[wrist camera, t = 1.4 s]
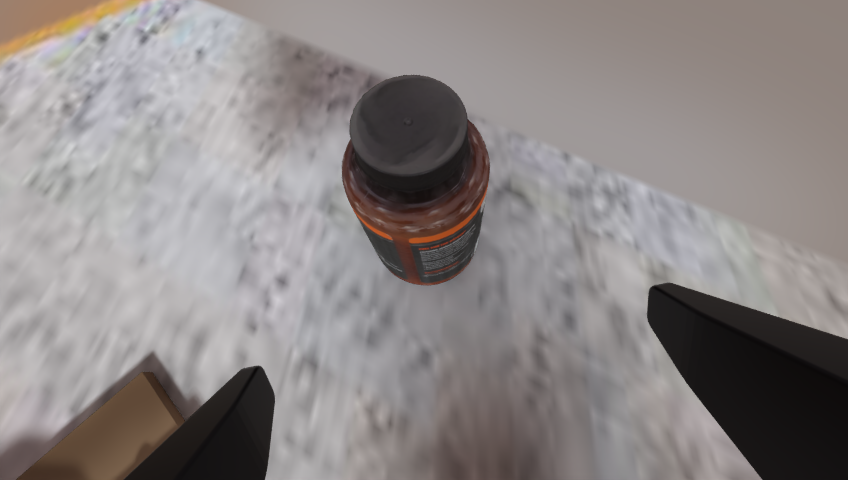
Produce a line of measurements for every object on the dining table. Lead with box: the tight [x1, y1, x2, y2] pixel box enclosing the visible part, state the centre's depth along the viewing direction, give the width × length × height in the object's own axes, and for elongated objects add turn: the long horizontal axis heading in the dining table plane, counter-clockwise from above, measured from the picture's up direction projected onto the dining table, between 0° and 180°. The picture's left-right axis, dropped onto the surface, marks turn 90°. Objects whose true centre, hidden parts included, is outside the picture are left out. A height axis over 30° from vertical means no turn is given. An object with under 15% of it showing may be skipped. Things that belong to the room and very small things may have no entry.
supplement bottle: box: [342, 75, 490, 285], centre depth 19 cm, size 6×6×11 cm
